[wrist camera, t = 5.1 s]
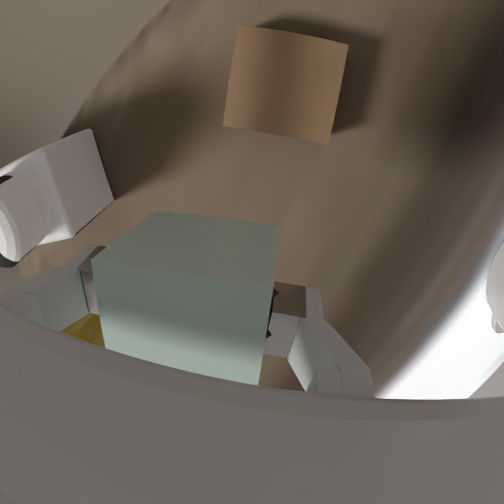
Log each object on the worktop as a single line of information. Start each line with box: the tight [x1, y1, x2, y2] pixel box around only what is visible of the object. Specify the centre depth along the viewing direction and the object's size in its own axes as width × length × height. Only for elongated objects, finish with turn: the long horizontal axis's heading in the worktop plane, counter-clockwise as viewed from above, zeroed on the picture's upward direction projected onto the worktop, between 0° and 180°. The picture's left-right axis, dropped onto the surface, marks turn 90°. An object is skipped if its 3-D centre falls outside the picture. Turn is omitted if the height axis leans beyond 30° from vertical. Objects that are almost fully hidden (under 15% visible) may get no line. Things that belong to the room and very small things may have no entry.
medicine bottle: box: [0, 129, 114, 268], centre depth 20 cm, size 7×7×12 cm
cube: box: [91, 211, 278, 385], centre depth 11 cm, size 5×5×5 cm
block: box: [223, 25, 349, 145], centre depth 19 cm, size 7×7×3 cm
